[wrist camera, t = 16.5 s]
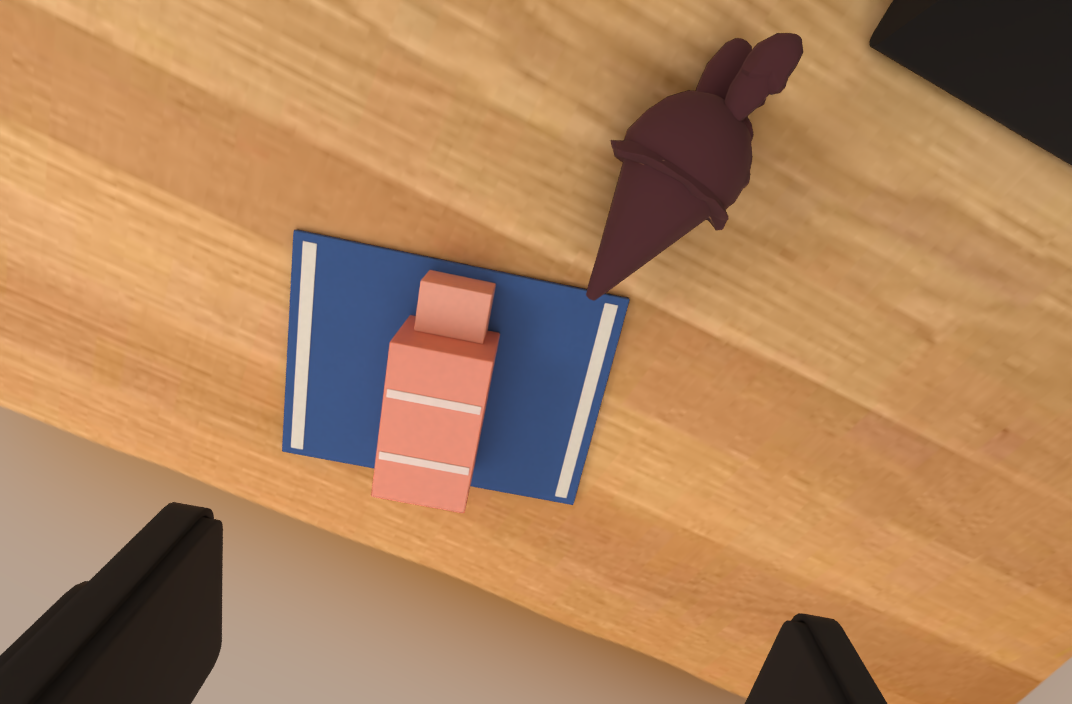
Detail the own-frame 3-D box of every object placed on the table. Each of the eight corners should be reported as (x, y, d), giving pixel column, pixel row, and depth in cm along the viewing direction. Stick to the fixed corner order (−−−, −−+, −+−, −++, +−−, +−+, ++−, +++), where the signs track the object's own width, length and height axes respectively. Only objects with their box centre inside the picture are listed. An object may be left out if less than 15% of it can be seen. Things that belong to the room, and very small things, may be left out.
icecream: (667, 355, 29) (868, 86, 26) (552, 286, 26) (763, -31, 22) (617, 308, 35) (774, 85, 32) (519, 248, 32) (681, -7, 29)
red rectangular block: (416, 266, 34) (395, 287, 29) (509, 285, 34) (503, 309, 29) (391, 454, 38) (370, 497, 34) (473, 469, 39) (464, 514, 34)
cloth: (296, 229, 33) (292, 230, 33) (629, 297, 35) (630, 299, 34) (284, 448, 39) (281, 452, 38) (572, 501, 40) (573, 505, 39)
